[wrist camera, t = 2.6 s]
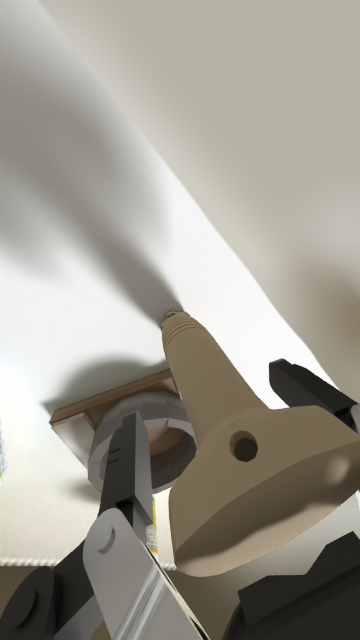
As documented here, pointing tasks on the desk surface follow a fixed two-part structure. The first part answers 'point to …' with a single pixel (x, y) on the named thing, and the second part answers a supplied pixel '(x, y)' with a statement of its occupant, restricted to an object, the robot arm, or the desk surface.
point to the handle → (247, 461)
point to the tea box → (2, 459)
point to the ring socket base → (107, 415)
